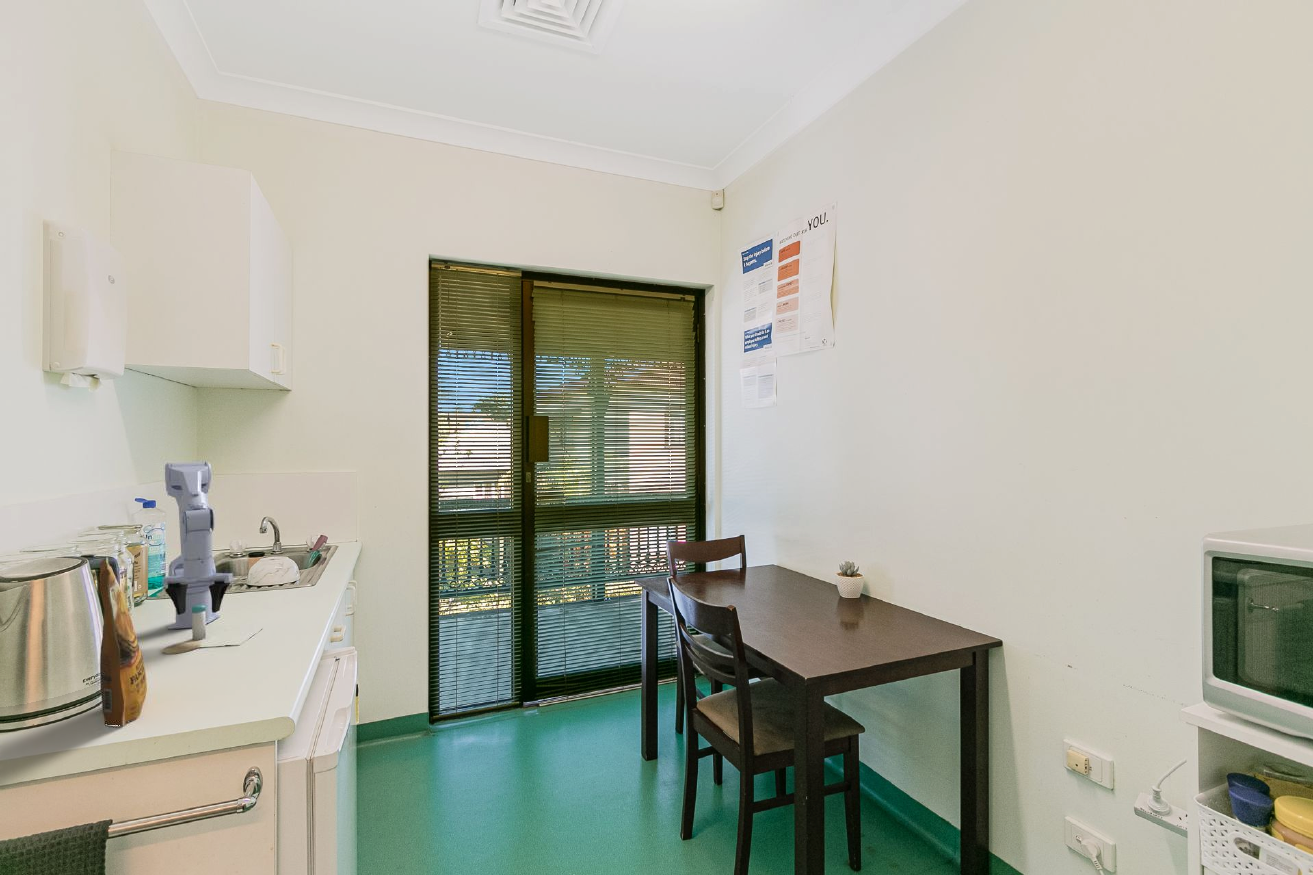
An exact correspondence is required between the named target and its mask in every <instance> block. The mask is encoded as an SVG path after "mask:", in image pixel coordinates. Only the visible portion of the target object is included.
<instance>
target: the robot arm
mask: <svg viewBox="0 0 1313 875" xmlns="http://www.w3.org/2000/svg"><path fill="white" fill-rule="evenodd" d="M211 465H212V464H211V463H210V462H209V461H196V462H167V463H166V464H165V465H164V479H165V480H164V482H165V492H166V493H167V496H169V497H171V498H172V497H173V498H175V500H176V503H177V506H178V516H179V518H178V519H179V520H178V521H179V539H180V540H179V541H180V555H179V556H178V557H176V558H174V559H173V560H172V561H170V563H169V564H168V572H167V573H168V576H164V577H163V578H162V586H163V587H164V586H165V587H166V588H164V591H165V593H166V594H167V596H168V597H169V599H170V600H171V601H172V603H173V606H174V607H175V623H173V624H172V625H169V626H168V627H167V629H168V630H173V629H174V630H175V629H192V607H193V606H197V605H206V610H205V622H206V625H208V624H209V623H212V622H213V621H215V620H217V619H218V618H220V617H221V615H220V614H217V612H219V611H220V610H221V606H222V601H223V599H224V597H225V594H226V592H227V590H228V588H229V586H230V584H231V582H233V581H234V574H233V572H231V573H230V572H229V573H227V572H226V573H225V572H224V573H222V572H217V569H216V568H217V567H216V564H215V559H214V558H213V532H214V530H215V529H214V528H215V524H216V523H215V522H216V521H215V512H214V509H213V508H212V506H210V504H209V498H208V495H207V494H208V493H209V490H210V487H211V482H212V467H211ZM207 623H208V624H207Z"/></svg>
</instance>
